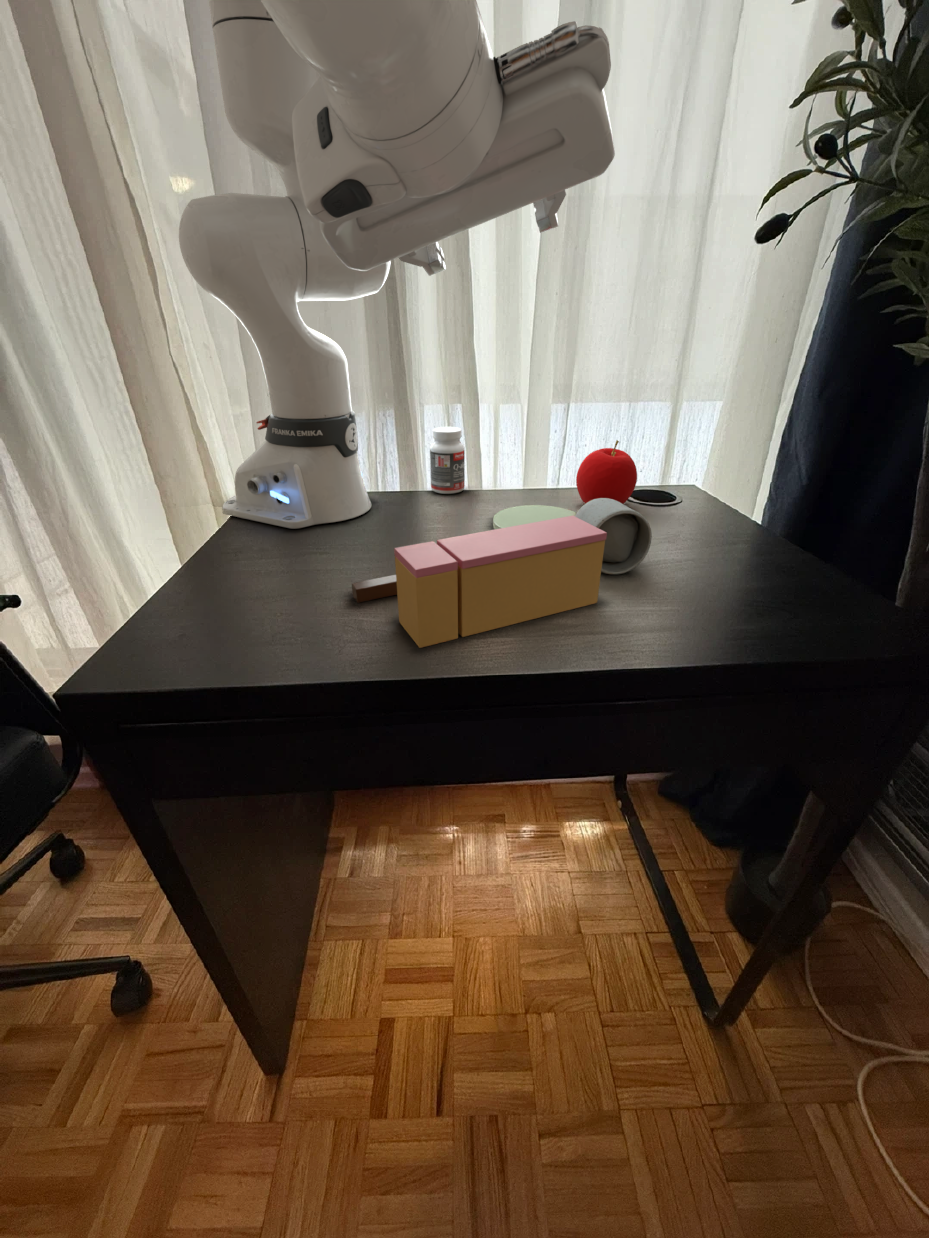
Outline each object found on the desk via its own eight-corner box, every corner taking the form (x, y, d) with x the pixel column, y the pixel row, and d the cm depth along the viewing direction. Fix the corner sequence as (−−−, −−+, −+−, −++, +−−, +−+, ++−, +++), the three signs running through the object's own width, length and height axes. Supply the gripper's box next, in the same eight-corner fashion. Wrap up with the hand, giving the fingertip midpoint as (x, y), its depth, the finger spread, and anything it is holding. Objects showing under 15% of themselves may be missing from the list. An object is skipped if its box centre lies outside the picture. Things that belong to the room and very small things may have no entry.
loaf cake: (462, 638, 54) (462, 561, 50) (438, 612, 59) (436, 539, 55) (598, 603, 60) (607, 532, 56) (566, 582, 65) (573, 515, 61)
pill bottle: (460, 495, 93) (460, 433, 89) (427, 493, 94) (425, 432, 90) (467, 486, 98) (467, 426, 93) (435, 484, 99) (434, 425, 94)
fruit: (627, 518, 84) (637, 449, 79) (567, 510, 87) (573, 443, 82) (637, 500, 91) (647, 436, 86) (581, 494, 94) (588, 431, 89)
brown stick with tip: (358, 604, 60) (356, 590, 60) (352, 595, 62) (350, 581, 61) (520, 569, 68) (521, 557, 67) (510, 562, 70) (510, 550, 69)
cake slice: (419, 648, 53) (415, 569, 49) (398, 622, 57) (393, 548, 53) (458, 638, 54) (457, 561, 50) (435, 613, 58) (433, 540, 55)
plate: (482, 537, 77) (482, 530, 77) (504, 507, 88) (505, 501, 88) (578, 547, 74) (579, 540, 73) (589, 515, 85) (590, 509, 84)
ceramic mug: (619, 546, 74) (627, 488, 70) (648, 572, 67) (657, 509, 63) (541, 553, 73) (544, 494, 69) (561, 580, 65) (566, 516, 62)
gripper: (595, -52, 29) (616, 151, 42) (270, 123, 36) (374, 251, 49) (615, 66, 29) (629, 233, 42) (284, 220, 36) (385, 322, 49)
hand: (490, 244), depth 46 cm, fingers open, 8 cm apart
